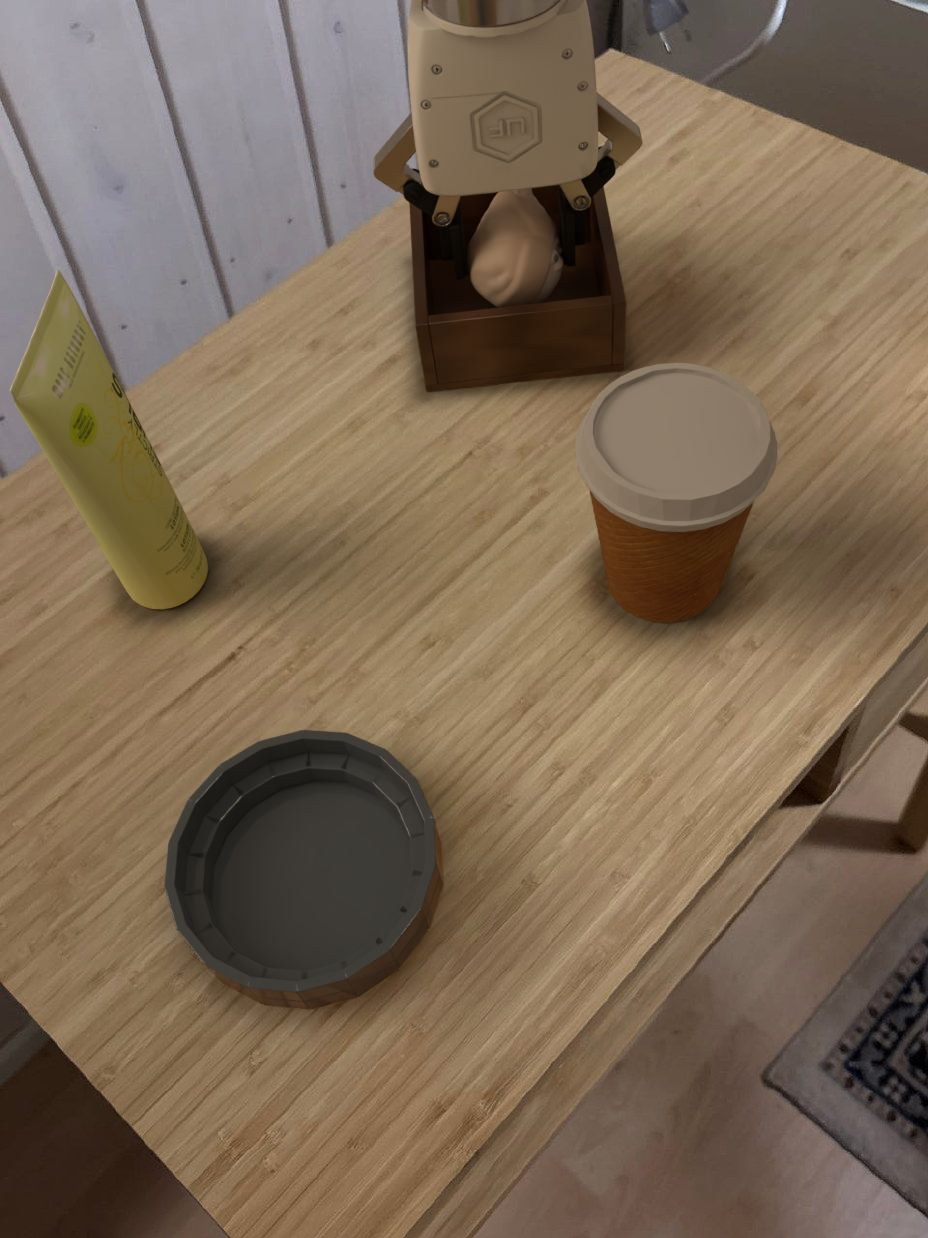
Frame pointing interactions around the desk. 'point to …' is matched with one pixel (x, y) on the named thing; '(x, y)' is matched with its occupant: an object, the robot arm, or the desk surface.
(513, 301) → the garlic bulb
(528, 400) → the desk surface
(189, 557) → the tube
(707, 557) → the disposable coffee cup
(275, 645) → the desk surface
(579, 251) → the holder
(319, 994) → the bowl
